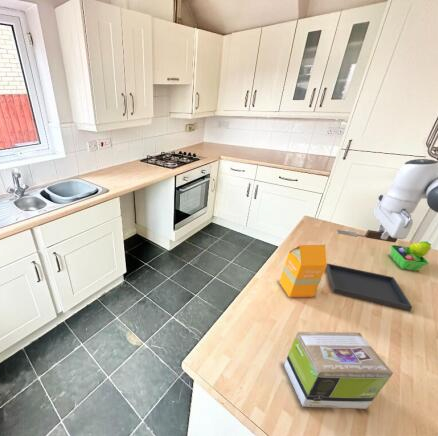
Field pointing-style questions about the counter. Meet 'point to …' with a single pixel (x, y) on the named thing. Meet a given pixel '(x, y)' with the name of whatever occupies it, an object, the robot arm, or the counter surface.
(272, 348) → the counter surface
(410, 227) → the robot arm
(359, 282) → the tray
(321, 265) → the orange juice
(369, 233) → the fork
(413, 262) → the fruit basket
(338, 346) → the tea box
